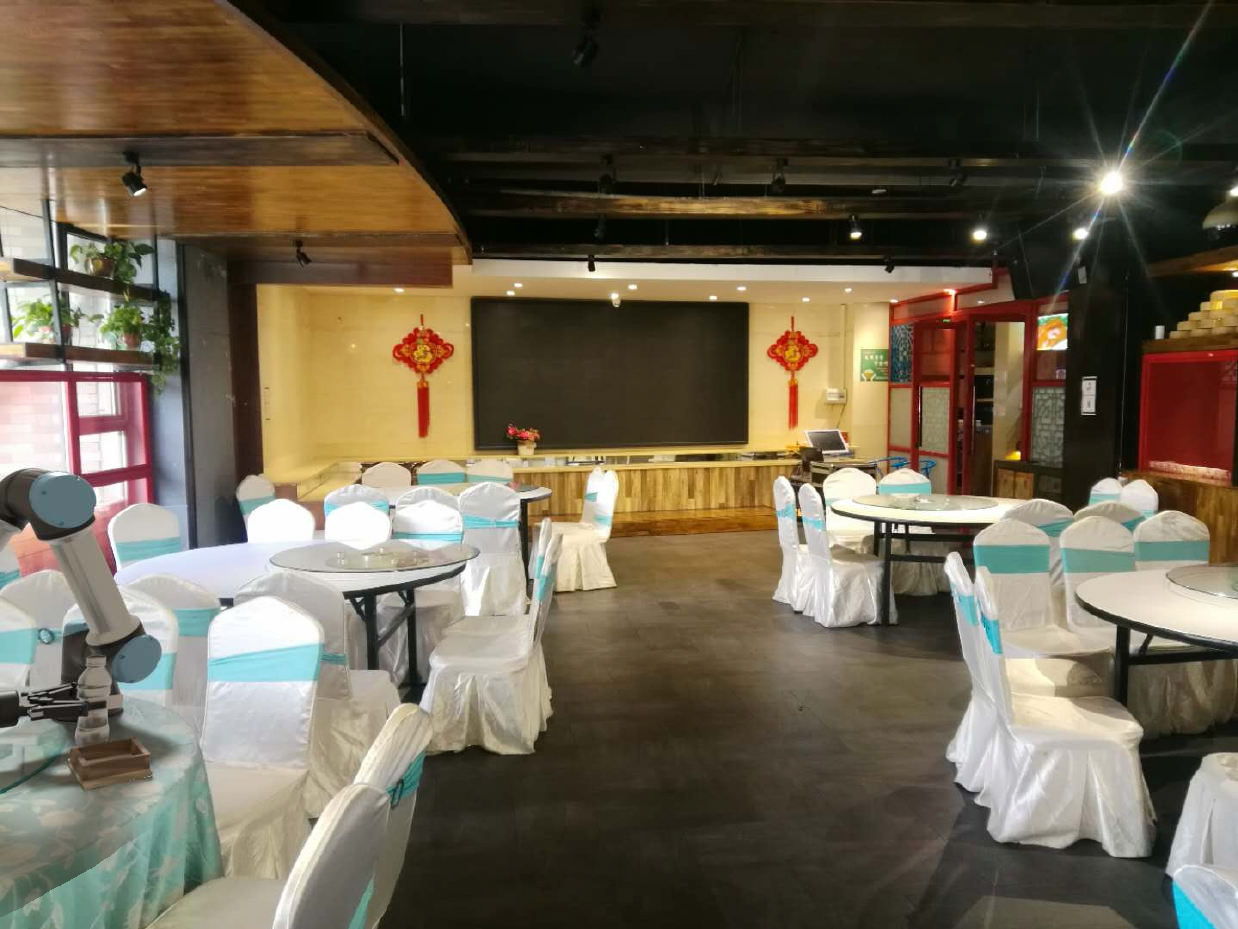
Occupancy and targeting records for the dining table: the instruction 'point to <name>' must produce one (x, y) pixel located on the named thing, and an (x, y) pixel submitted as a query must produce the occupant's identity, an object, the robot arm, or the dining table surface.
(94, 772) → the open wooden box
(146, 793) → the dining table surface
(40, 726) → the dining table surface
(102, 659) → the plastic bottle
